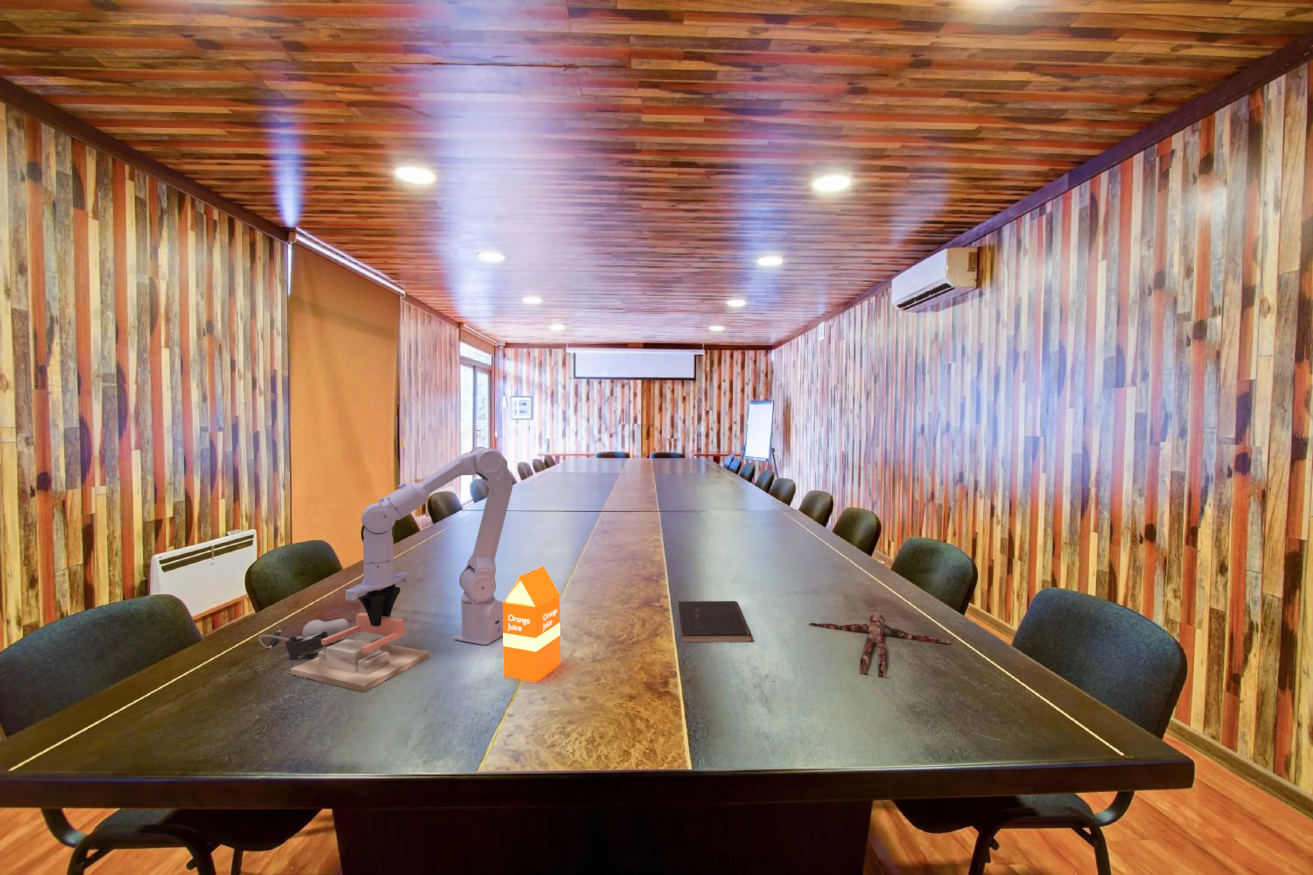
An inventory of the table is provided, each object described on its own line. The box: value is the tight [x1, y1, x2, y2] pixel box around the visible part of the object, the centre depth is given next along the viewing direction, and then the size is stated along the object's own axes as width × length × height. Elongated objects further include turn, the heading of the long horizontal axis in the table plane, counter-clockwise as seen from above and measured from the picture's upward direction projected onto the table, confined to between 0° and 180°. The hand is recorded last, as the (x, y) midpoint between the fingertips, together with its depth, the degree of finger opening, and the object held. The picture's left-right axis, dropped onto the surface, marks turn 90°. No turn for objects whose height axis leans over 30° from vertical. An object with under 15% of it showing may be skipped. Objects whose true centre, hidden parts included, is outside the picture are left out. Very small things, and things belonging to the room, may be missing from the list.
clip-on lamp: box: [258, 618, 350, 660], centre depth 121 cm, size 12×6×18 cm
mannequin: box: [808, 613, 951, 679], centre depth 122 cm, size 26×29×4 cm
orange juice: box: [502, 565, 561, 683], centre depth 109 cm, size 8×9×20 cm
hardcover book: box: [677, 600, 753, 643], centre depth 134 cm, size 16×23×2 cm
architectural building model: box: [290, 636, 431, 693], centre depth 112 cm, size 16×20×5 cm
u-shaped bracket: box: [321, 612, 405, 653], centre depth 112 cm, size 10×12×3 cm
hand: (380, 623), depth 116 cm, fingers closed on u-shaped bracket, 2 cm apart
